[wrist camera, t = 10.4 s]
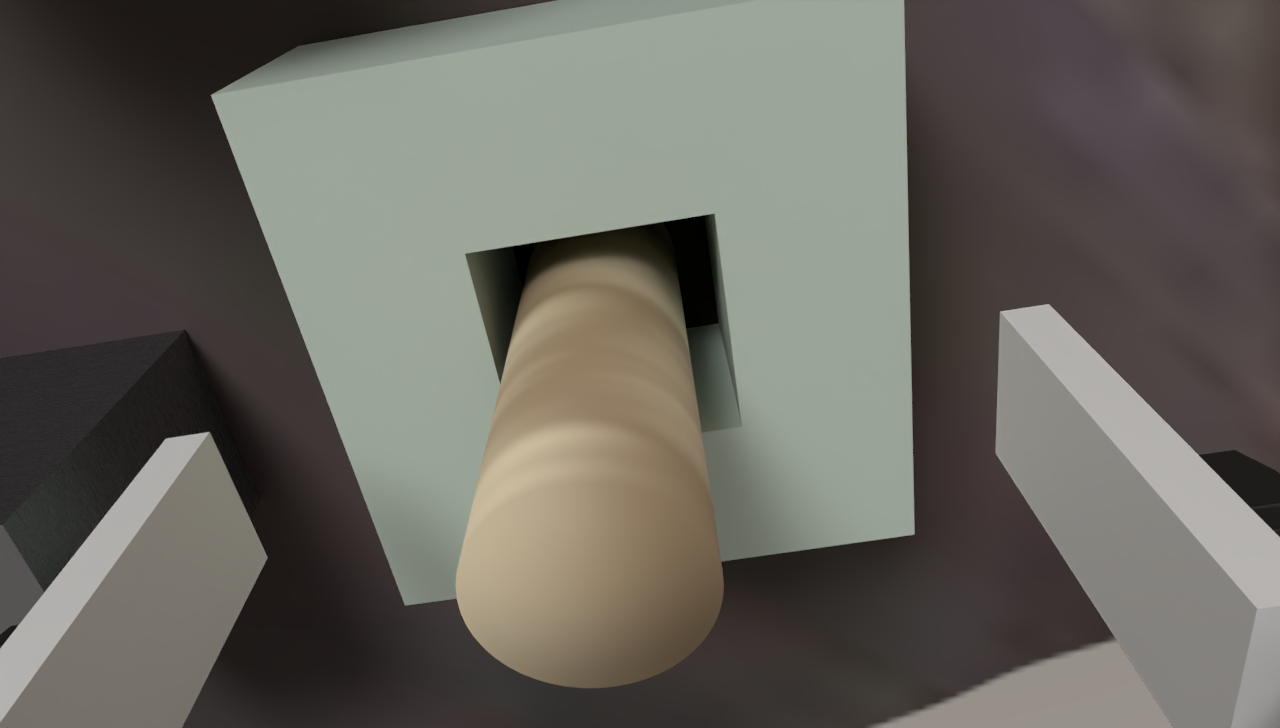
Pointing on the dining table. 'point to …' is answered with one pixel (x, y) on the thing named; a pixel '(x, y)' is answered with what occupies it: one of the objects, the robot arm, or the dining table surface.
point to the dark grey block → (90, 446)
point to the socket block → (595, 202)
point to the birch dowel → (594, 474)
